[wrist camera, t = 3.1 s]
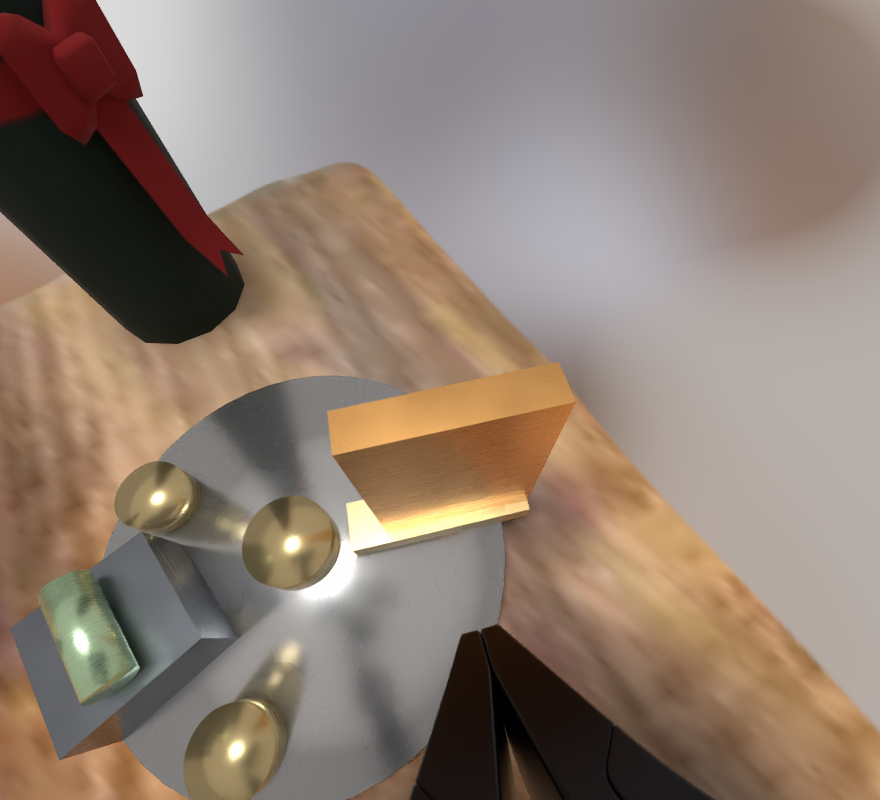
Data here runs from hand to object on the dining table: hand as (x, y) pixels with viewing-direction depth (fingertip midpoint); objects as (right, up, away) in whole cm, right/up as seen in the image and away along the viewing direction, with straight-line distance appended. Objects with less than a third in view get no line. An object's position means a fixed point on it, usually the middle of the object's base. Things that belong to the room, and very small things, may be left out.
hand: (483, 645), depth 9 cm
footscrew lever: (-3, 0, +10) cm, 11 cm away
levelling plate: (-7, -2, +11) cm, 13 cm away
